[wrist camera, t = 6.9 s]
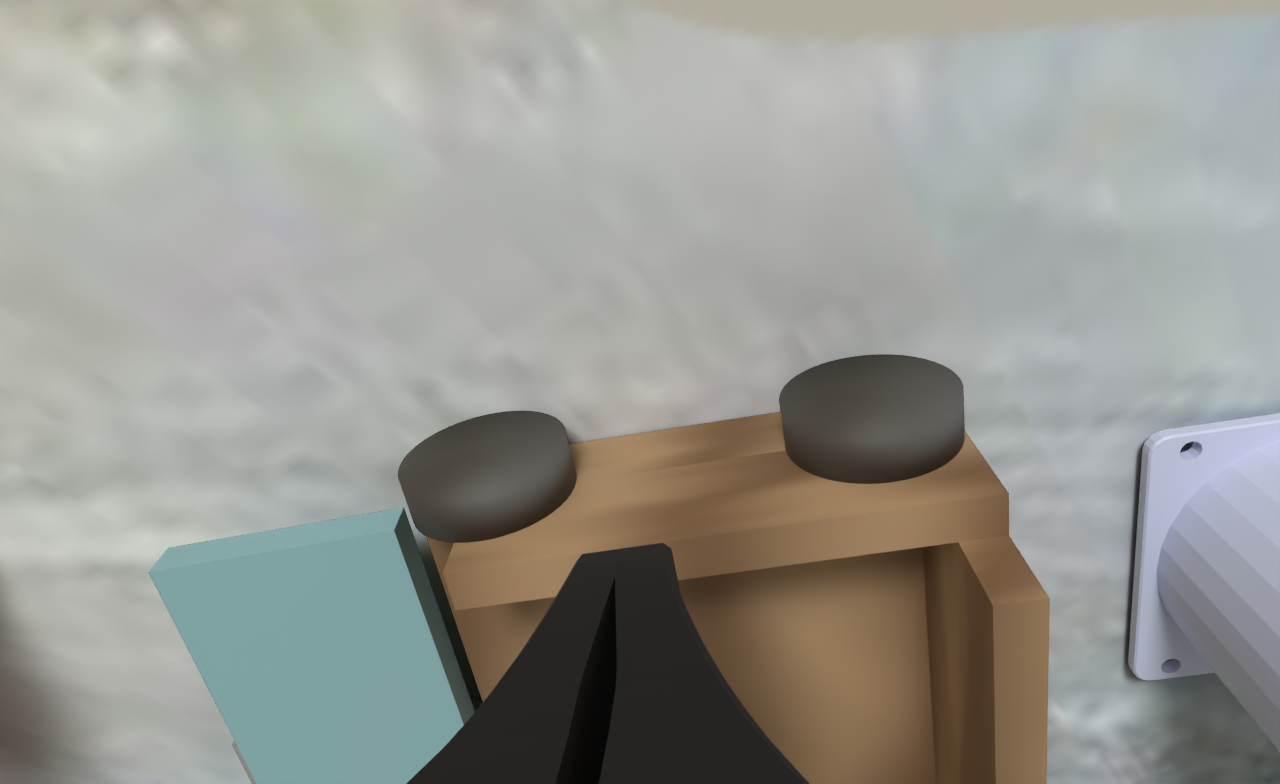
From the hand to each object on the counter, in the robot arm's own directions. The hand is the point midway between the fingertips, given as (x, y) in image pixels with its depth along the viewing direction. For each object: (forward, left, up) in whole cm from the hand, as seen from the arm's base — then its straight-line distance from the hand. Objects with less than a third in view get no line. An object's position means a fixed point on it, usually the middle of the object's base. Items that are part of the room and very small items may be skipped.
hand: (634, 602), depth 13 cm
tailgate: (+6, +11, -7) cm, 15 cm away
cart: (0, +11, -9) cm, 14 cm away
